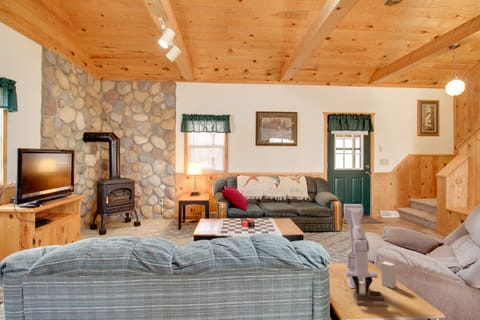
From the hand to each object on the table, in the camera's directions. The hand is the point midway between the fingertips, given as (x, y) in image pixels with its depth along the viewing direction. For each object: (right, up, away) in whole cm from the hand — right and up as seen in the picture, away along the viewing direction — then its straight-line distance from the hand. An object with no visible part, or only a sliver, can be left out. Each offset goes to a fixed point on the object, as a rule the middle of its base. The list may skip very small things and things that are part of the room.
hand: (362, 291), depth 138 cm
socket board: (+3, -4, -2) cm, 5 cm away
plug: (0, -2, 0) cm, 2 cm away
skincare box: (+21, -4, +15) cm, 26 cm away
